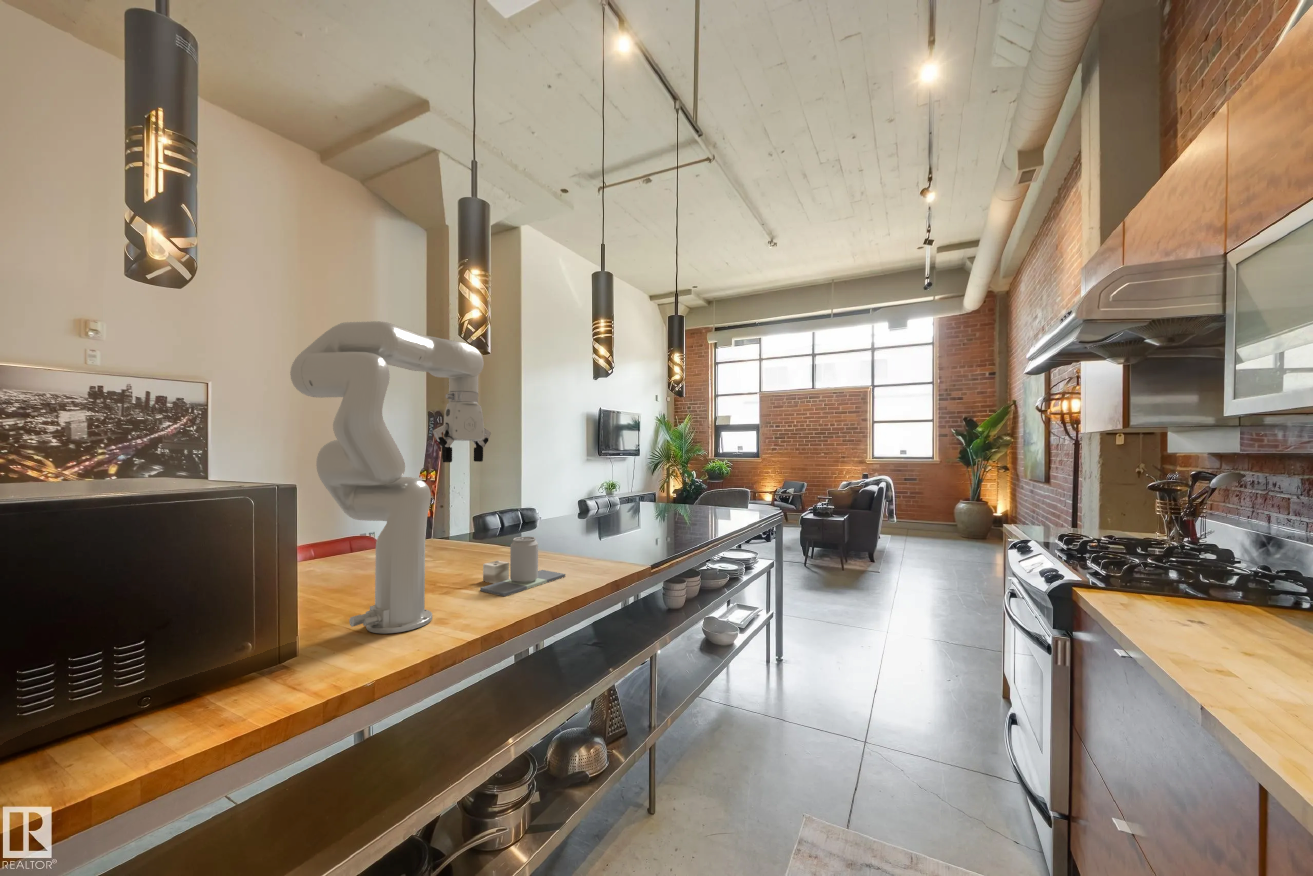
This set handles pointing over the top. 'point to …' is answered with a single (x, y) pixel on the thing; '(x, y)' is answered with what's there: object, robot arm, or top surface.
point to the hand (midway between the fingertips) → (463, 461)
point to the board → (511, 587)
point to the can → (524, 560)
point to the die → (495, 572)
